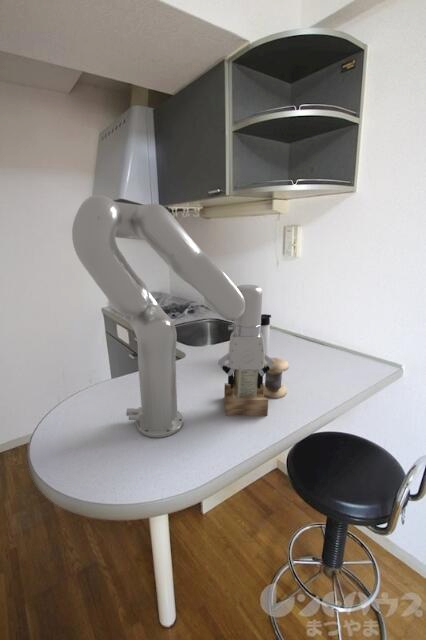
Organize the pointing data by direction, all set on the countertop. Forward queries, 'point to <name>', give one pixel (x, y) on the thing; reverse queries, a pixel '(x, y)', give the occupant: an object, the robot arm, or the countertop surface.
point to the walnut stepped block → (245, 404)
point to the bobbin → (275, 379)
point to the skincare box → (245, 383)
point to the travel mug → (265, 330)
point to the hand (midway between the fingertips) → (245, 386)
